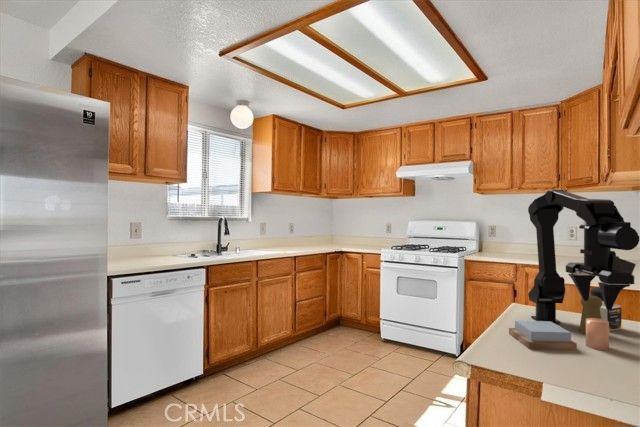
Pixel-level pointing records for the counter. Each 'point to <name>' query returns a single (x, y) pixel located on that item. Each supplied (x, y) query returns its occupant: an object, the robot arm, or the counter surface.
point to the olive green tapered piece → (590, 311)
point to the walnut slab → (542, 342)
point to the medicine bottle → (609, 311)
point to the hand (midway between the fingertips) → (596, 304)
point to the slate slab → (543, 331)
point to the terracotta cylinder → (597, 333)
